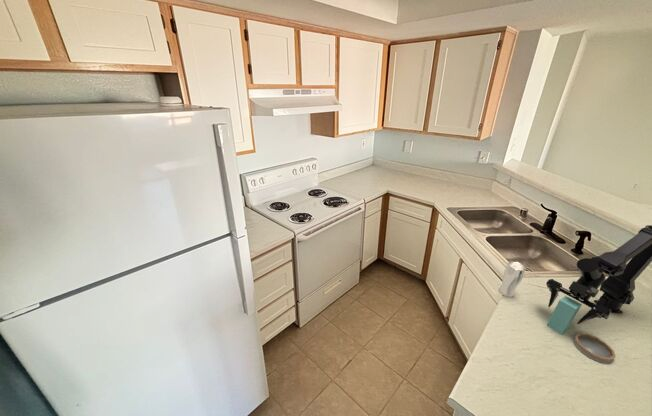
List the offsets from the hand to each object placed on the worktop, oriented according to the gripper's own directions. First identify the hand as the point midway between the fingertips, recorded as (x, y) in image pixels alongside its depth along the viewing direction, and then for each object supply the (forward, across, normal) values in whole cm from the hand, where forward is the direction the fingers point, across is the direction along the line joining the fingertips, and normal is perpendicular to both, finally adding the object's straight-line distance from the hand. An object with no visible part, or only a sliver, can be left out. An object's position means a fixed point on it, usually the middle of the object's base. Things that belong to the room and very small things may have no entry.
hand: (562, 315), depth 99 cm
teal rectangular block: (+4, 0, +6) cm, 7 cm away
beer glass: (+3, -20, +7) cm, 22 cm away
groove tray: (+4, +11, +6) cm, 13 cm away
